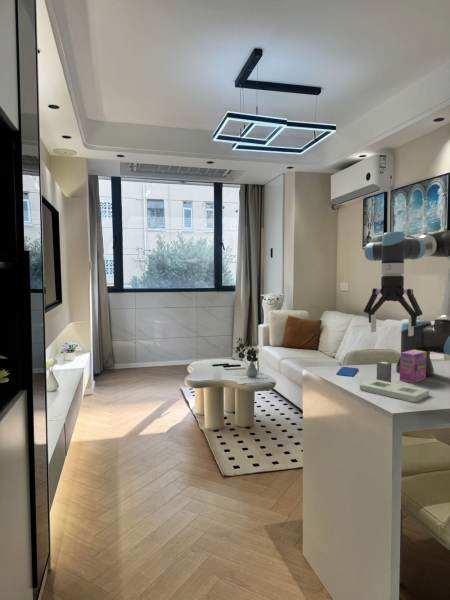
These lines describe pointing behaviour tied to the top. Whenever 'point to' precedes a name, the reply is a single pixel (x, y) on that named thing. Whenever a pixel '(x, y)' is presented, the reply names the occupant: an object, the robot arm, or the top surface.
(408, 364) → the box
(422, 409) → the top surface
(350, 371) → the smartphone
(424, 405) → the top surface
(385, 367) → the block
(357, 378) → the top surface
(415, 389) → the outlet plate
